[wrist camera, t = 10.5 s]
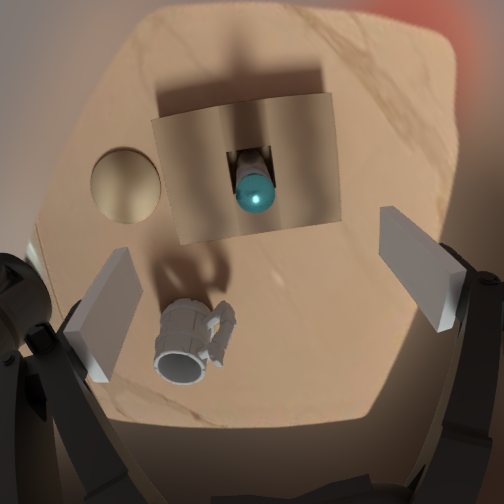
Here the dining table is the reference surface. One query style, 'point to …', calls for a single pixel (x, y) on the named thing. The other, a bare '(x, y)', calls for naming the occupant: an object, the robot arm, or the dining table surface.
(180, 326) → the mug
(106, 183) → the coaster
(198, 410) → the dining table surface
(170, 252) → the dining table surface
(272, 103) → the hole board
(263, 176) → the peg
